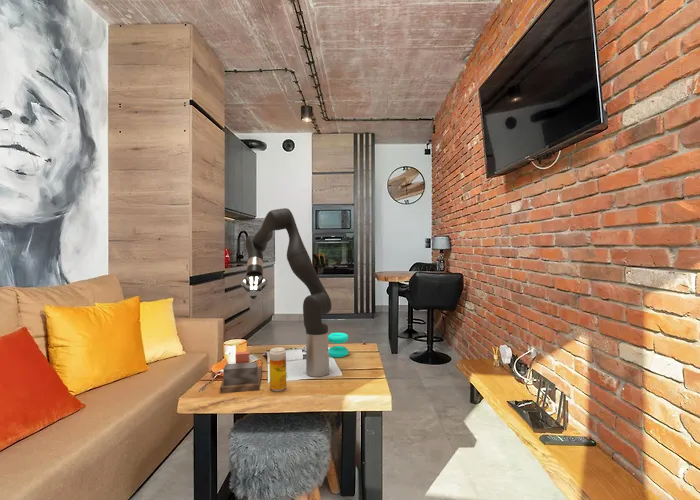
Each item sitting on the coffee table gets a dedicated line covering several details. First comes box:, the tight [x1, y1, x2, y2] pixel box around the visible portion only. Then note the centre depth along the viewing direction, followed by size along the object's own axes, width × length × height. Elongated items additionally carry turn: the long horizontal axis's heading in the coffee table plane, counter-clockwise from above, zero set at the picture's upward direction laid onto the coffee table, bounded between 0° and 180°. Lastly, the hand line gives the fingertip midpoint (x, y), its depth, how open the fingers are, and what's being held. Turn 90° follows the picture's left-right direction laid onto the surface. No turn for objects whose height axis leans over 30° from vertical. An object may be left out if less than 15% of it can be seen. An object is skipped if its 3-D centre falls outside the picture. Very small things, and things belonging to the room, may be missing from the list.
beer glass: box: [268, 346, 287, 392], centre depth 140 cm, size 6×6×15 cm
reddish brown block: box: [235, 350, 251, 364], centre depth 148 cm, size 5×3×9 cm, turn 100°
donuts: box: [328, 332, 349, 358], centre depth 179 cm, size 10×10×10 cm
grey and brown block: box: [219, 361, 263, 394], centre depth 147 cm, size 14×20×8 cm
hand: (253, 297), depth 167 cm, fingers closed
